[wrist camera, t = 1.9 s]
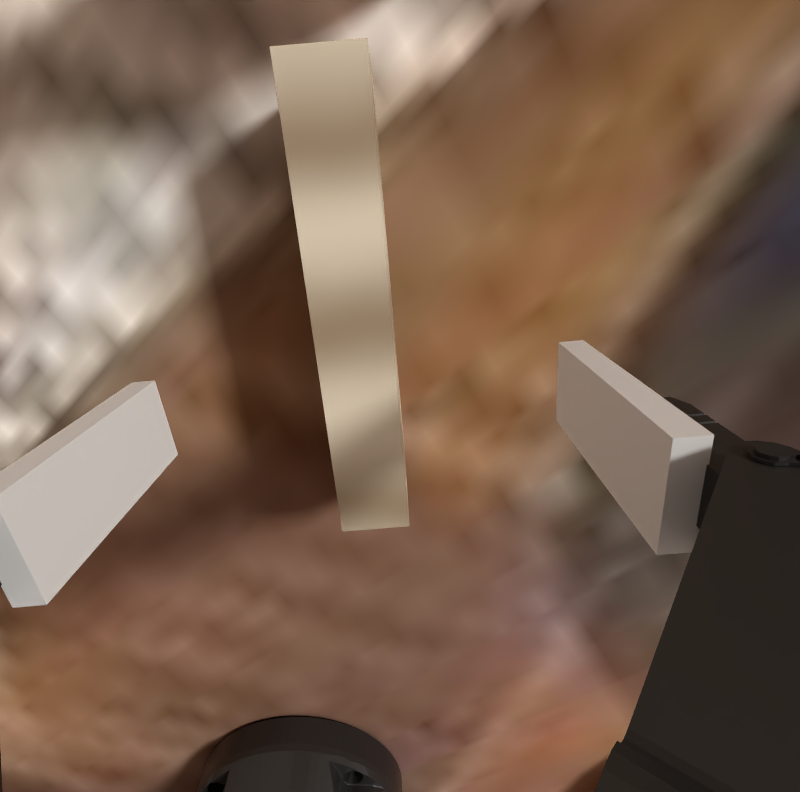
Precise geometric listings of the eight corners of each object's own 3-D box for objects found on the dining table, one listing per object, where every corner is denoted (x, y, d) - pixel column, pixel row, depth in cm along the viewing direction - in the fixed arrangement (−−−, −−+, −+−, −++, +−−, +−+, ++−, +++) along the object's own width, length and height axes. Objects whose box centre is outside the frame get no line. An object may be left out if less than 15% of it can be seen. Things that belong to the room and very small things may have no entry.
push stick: (405, 460, 26) (409, 526, 21) (352, 464, 26) (342, 531, 21) (373, 87, 20) (367, 37, 14) (303, 93, 20) (269, 46, 14)
